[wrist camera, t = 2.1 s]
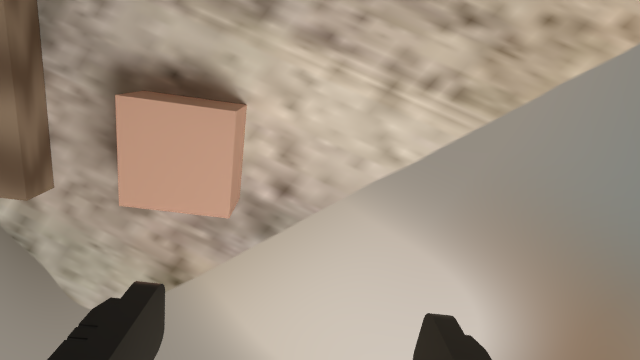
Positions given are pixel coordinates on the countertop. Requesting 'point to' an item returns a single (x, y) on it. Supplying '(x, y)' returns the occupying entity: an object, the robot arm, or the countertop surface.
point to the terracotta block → (179, 153)
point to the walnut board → (22, 104)
